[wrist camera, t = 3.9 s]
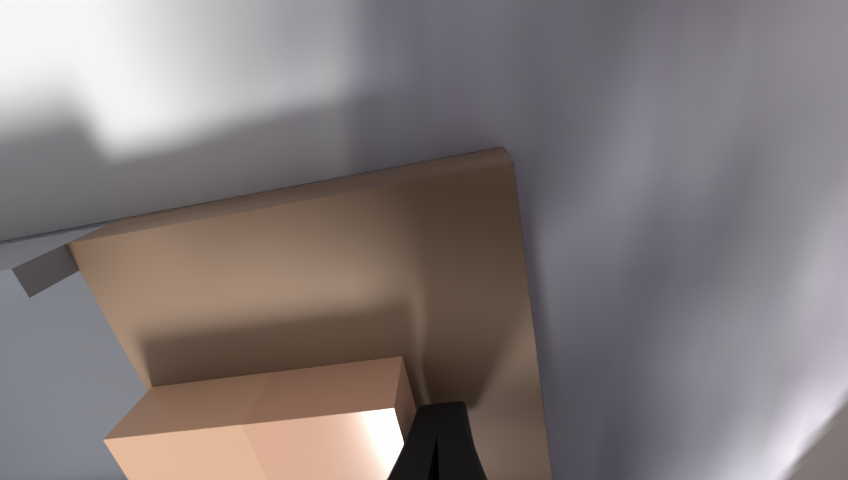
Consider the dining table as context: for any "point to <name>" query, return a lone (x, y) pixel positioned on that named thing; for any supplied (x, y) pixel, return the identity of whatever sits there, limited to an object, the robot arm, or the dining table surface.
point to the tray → (57, 366)
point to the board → (342, 291)
